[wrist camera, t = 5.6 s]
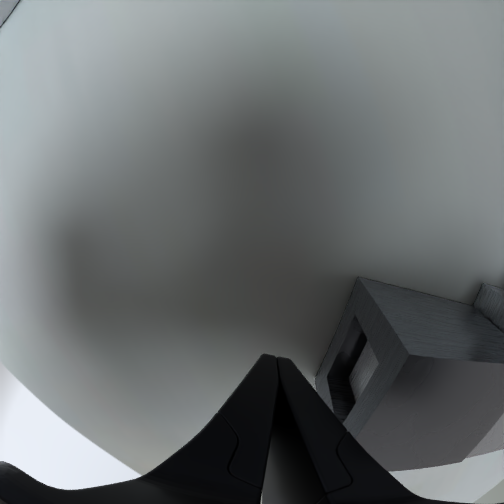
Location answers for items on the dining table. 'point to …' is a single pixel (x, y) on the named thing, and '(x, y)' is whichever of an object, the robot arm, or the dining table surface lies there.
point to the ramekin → (6, 9)
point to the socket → (415, 376)
